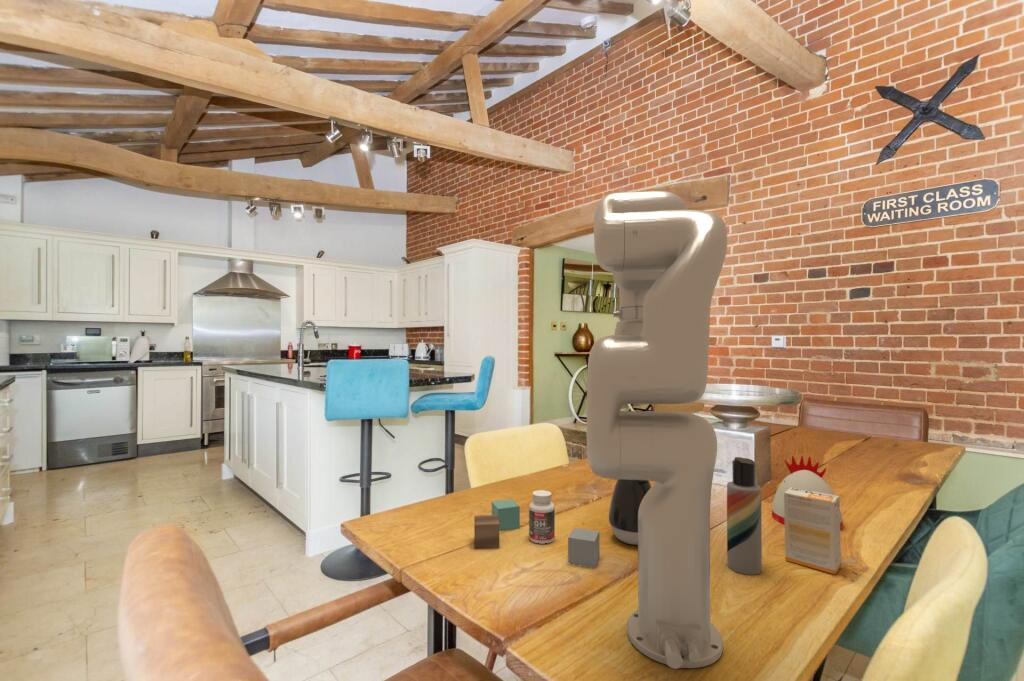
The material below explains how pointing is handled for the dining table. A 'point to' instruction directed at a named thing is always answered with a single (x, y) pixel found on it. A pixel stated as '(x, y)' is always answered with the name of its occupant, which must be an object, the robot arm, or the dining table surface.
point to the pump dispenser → (627, 508)
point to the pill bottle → (541, 518)
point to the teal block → (507, 514)
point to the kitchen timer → (800, 485)
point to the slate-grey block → (583, 547)
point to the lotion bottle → (744, 519)
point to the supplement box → (812, 529)
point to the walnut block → (486, 532)
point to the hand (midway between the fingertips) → (636, 389)
